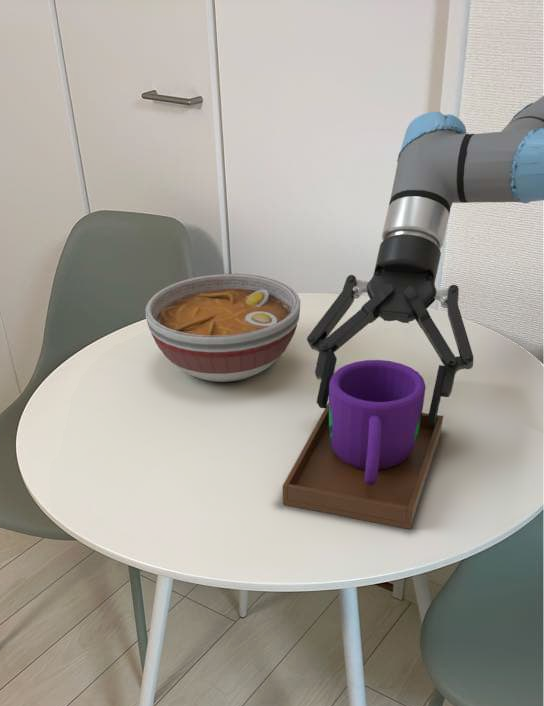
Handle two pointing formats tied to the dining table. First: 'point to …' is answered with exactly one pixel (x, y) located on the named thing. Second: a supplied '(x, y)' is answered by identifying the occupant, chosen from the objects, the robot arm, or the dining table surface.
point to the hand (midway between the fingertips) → (375, 413)
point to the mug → (375, 414)
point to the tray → (360, 479)
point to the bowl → (223, 324)
